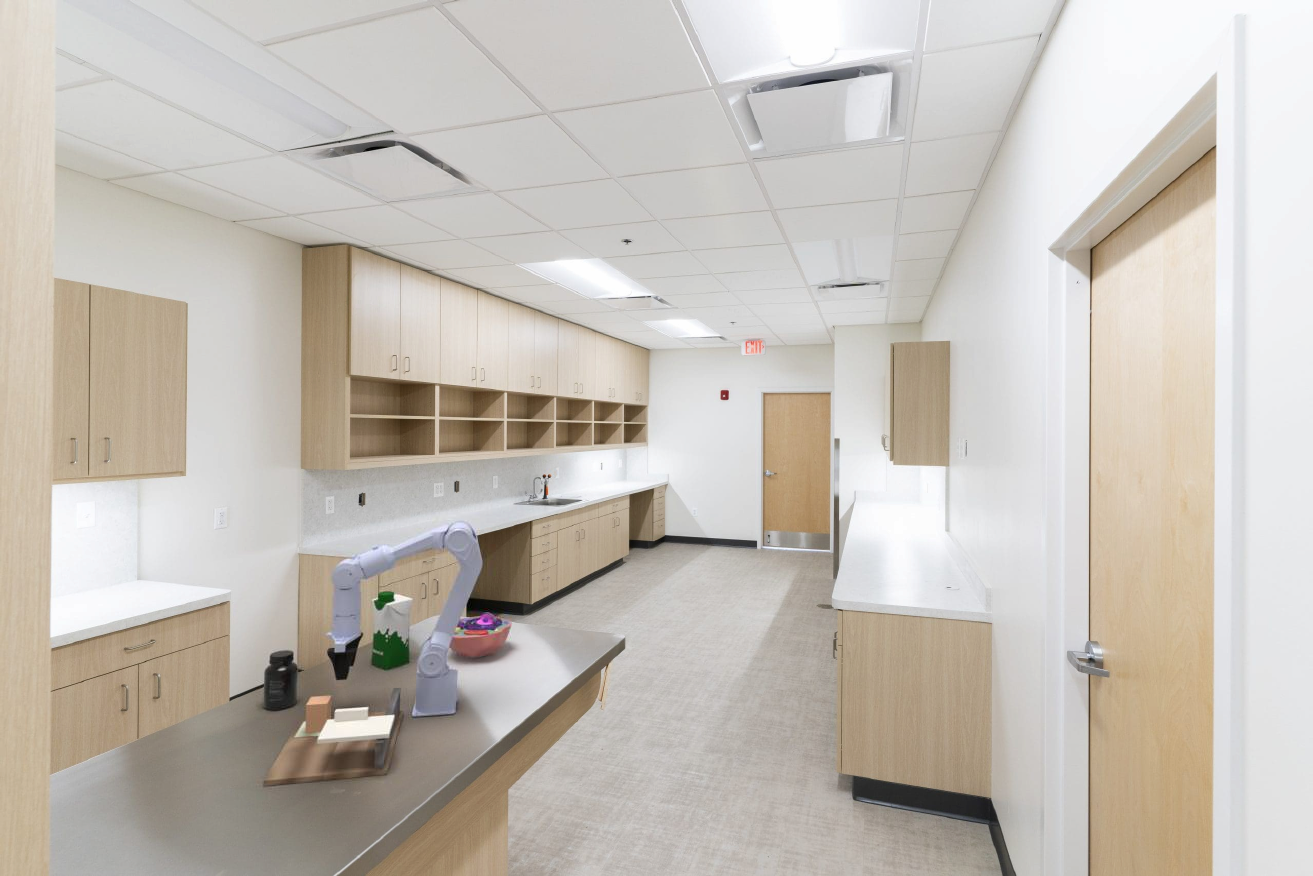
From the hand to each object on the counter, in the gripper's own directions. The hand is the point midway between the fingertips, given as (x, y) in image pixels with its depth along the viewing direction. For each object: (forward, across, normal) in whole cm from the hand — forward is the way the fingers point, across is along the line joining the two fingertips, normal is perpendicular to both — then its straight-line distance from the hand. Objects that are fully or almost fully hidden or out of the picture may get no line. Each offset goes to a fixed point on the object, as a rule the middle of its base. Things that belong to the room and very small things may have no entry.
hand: (345, 672), depth 144 cm
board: (+10, +14, +2) cm, 18 cm away
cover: (+3, +22, +6) cm, 23 cm away
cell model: (+10, -34, +29) cm, 46 cm away
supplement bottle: (+10, -8, -15) cm, 20 cm away
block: (+9, +8, -4) cm, 12 cm away
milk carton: (+10, -30, +6) cm, 32 cm away
